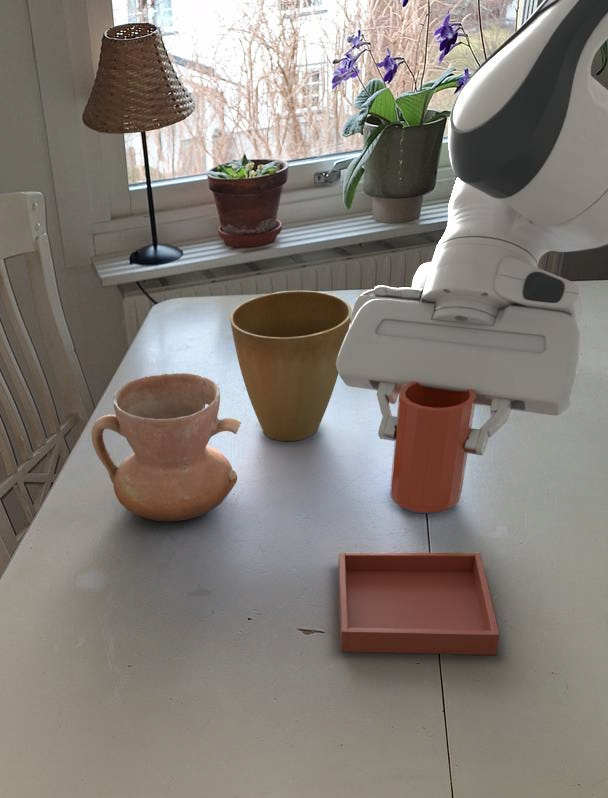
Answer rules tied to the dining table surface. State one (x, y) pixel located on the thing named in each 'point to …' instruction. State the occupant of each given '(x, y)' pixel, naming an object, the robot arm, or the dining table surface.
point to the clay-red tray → (415, 603)
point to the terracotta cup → (430, 447)
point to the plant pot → (290, 357)
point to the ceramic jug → (168, 447)
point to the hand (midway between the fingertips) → (429, 445)
